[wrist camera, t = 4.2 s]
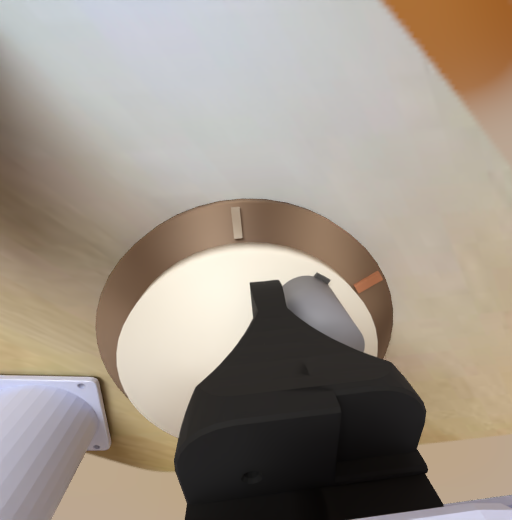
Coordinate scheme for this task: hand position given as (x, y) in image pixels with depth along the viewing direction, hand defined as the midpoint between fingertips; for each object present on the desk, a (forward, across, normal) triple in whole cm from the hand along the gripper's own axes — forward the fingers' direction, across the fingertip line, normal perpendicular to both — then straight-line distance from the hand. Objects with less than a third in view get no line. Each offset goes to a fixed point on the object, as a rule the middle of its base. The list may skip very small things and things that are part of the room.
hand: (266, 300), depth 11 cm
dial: (+3, +1, +6) cm, 6 cm away
